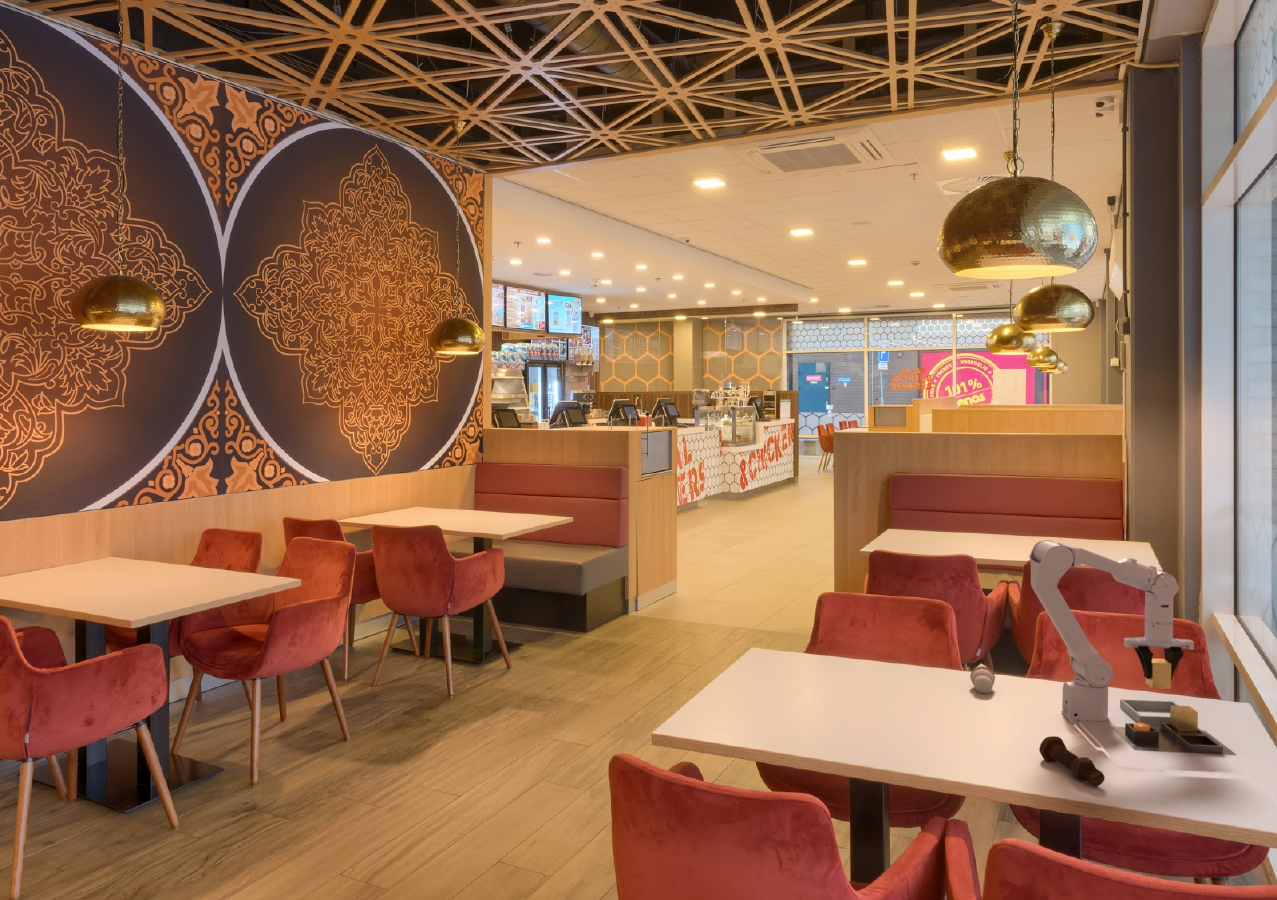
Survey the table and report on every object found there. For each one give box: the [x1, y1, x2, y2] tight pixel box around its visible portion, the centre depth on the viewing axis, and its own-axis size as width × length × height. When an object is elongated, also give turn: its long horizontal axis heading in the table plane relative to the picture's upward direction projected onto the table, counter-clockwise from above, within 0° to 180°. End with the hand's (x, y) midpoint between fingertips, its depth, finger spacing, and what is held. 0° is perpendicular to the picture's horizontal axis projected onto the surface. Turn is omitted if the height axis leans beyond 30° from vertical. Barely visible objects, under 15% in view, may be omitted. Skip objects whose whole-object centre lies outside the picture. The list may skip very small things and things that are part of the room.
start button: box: [1134, 722, 1150, 731], centre depth 194 cm, size 3×3×2 cm
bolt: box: [1038, 735, 1106, 787], centre depth 179 cm, size 6×5×15 cm
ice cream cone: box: [969, 663, 996, 695], centre depth 234 cm, size 6×6×15 cm
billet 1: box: [1144, 657, 1172, 690], centre depth 207 cm, size 4×4×6 cm
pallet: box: [1110, 722, 1237, 756], centre depth 193 cm, size 20×14×4 cm
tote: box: [1119, 698, 1180, 727], centre depth 207 cm, size 12×12×3 cm
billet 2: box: [1169, 705, 1199, 733], centre depth 196 cm, size 4×4×6 cm
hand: (1158, 678), depth 207 cm, fingers closed on billet 1, 4 cm apart
